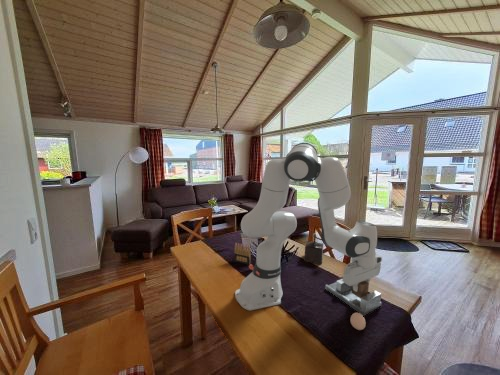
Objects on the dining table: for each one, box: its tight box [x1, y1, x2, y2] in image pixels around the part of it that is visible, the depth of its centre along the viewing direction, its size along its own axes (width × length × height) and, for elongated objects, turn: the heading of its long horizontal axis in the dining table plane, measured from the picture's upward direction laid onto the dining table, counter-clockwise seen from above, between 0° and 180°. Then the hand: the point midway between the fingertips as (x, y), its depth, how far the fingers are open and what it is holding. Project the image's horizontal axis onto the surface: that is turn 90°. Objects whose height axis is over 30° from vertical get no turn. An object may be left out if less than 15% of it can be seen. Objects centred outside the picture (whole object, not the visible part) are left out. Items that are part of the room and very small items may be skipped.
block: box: [352, 281, 370, 298], centre depth 92 cm, size 4×4×6 cm
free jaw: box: [335, 278, 352, 294], centre depth 99 cm, size 9×2×6 cm, turn 118°
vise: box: [324, 281, 382, 317], centre depth 96 cm, size 12×20×6 cm, turn 28°
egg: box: [350, 312, 367, 331], centre depth 79 cm, size 5×5×6 cm
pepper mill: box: [303, 233, 324, 265], centre depth 130 cm, size 16×11×18 cm
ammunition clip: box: [233, 242, 252, 266], centre depth 127 cm, size 11×2×12 cm, turn 65°
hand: (360, 288), depth 92 cm, fingers closed on block, 4 cm apart
